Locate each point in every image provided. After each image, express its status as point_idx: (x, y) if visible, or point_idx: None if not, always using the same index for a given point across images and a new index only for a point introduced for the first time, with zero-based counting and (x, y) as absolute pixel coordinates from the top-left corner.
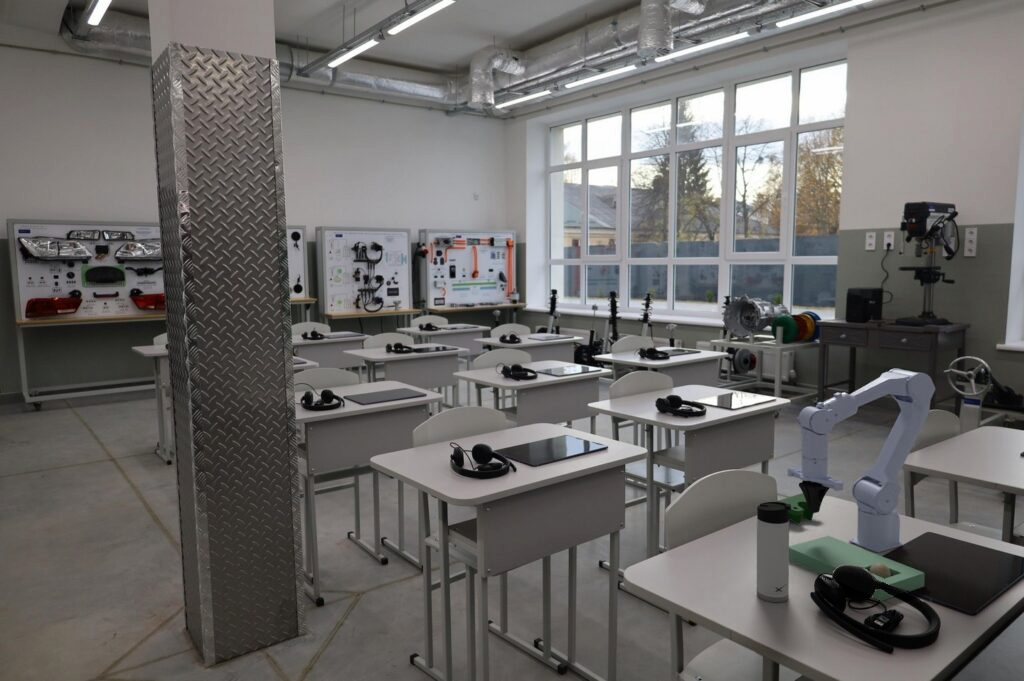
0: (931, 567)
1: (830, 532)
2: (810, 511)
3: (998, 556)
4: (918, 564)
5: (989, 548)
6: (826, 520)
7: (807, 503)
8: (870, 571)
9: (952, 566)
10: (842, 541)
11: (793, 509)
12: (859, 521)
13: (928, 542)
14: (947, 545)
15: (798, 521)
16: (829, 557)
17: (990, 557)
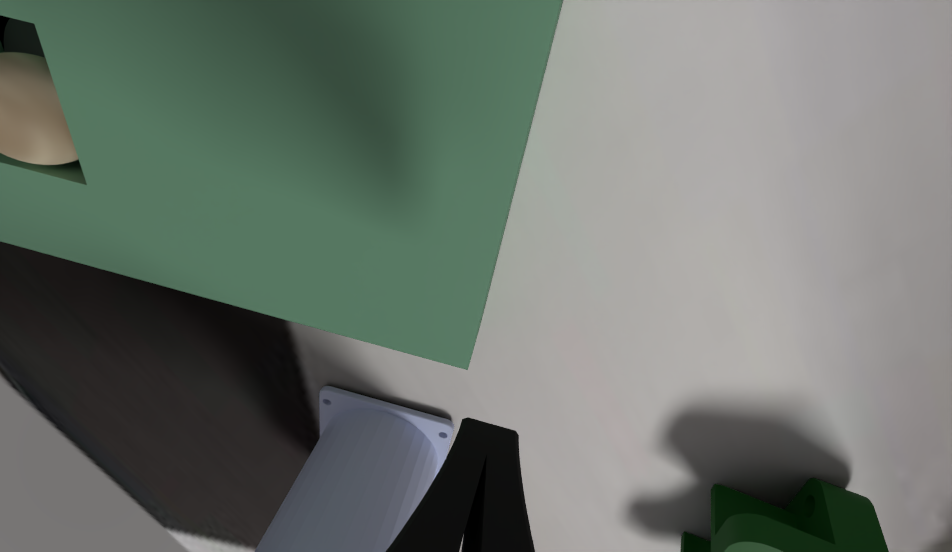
0: (162, 371)
1: (560, 466)
2: (492, 430)
3: (169, 509)
4: (195, 370)
5: (213, 538)
6: (627, 548)
7: (511, 507)
8: (41, 72)
9: (150, 409)
10: (377, 341)
11: (765, 548)
12: (374, 514)
13: None
14: (268, 519)
15: (722, 496)
16: (244, 50)
17: (170, 498)
